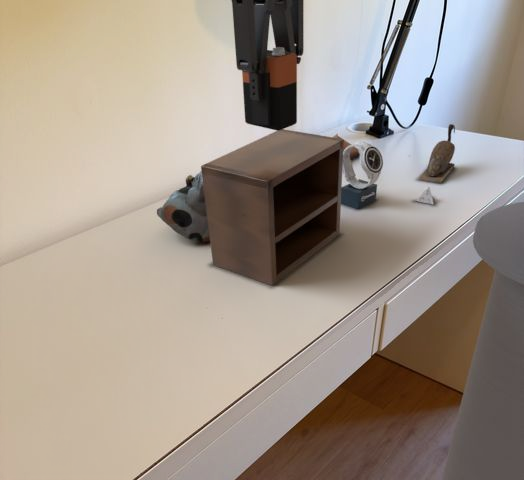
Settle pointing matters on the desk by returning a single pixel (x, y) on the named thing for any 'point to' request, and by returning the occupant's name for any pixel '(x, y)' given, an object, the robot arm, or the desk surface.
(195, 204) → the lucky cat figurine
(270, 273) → the shelf
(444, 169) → the figurine
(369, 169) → the watch
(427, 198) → the tetrahedral die
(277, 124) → the battery
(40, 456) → the desk surface
